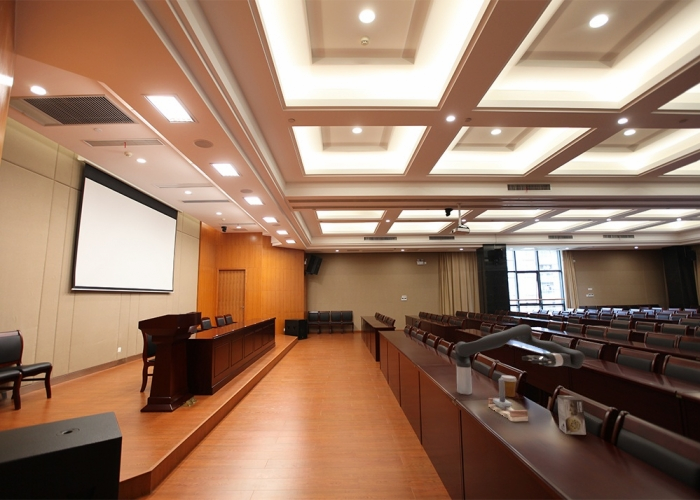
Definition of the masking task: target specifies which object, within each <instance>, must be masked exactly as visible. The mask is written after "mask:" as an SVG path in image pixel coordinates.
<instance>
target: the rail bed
mask: <svg viewBox="0 0 700 500" xmlns="http://www.w3.org/2000/svg"><path fill="white" fill-rule="evenodd" d="M487 399H488V404H487V405H488V406H487V407H488V408H489V407H490V408H489V409H492V410H493V411H494V410H495V412H496V413H498V414H499V415H500V416H502V415H503V417H504V418H506V419H507V418H508V419H507V420H509V421H510V422H528V421H529V417H528V415H529V414H528V410H527V409H517V410H516V409H514V408H512V406H510V407H508V406H505V409H502V408H500V407H499V406H497V405H495V403H494V402H493V399H499V397H487Z"/></svg>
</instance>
